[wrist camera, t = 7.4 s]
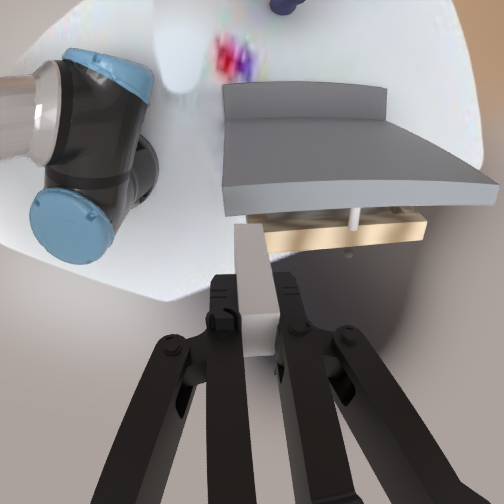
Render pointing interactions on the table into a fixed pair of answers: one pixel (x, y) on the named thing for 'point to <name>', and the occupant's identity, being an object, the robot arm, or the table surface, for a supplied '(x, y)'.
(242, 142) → the panel
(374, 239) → the frame
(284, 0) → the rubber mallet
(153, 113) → the table surface
